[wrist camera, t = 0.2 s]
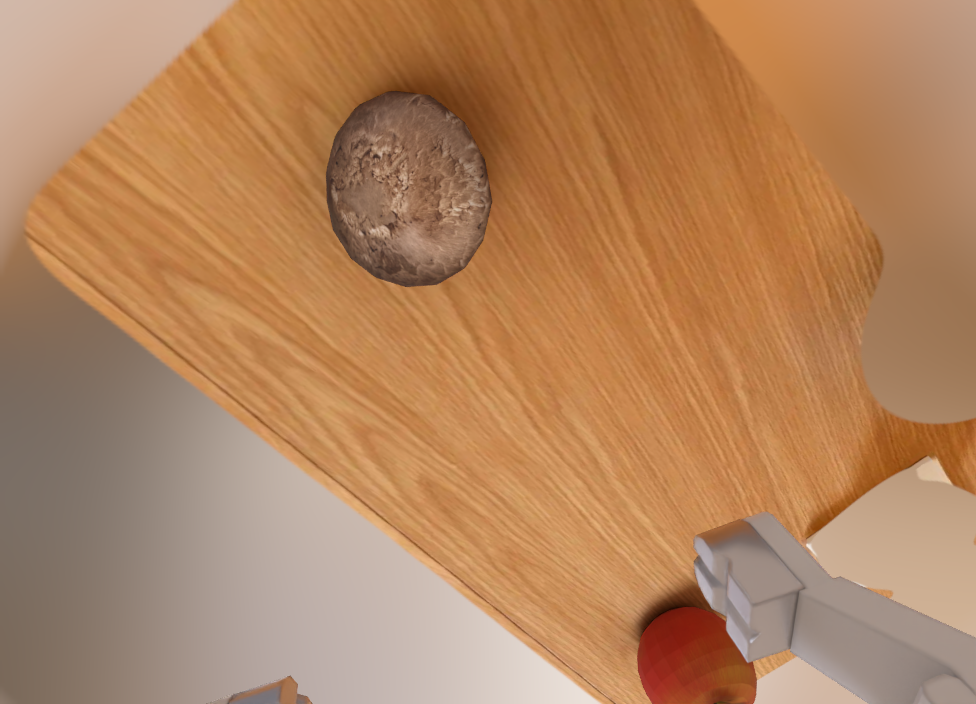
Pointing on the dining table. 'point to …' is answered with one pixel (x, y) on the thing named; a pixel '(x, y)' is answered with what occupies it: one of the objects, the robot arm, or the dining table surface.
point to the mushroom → (407, 189)
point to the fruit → (693, 661)
